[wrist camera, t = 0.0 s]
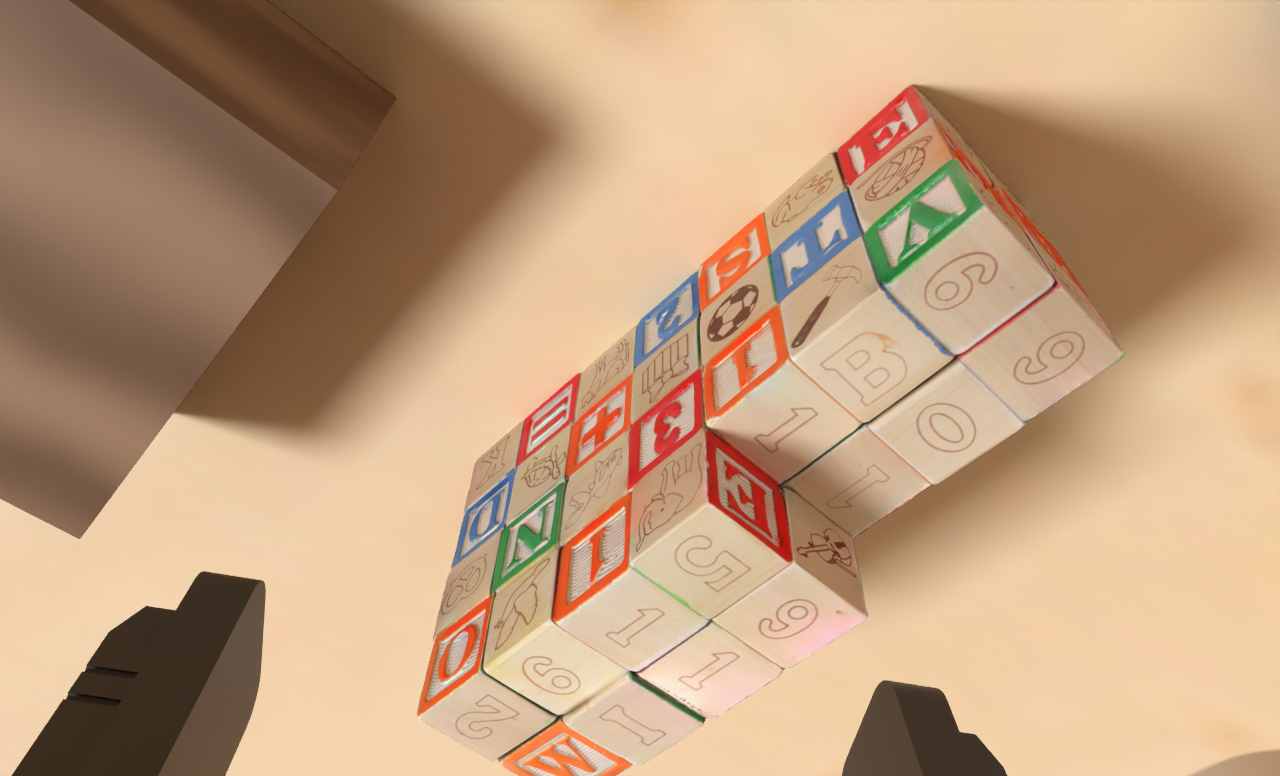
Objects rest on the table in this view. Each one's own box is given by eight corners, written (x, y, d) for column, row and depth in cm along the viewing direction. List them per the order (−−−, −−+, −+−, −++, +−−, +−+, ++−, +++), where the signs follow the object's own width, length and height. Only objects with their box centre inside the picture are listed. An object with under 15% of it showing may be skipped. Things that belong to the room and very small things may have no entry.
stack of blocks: (909, 73, 31) (1030, 261, 21) (1026, 205, 34) (1185, 431, 23) (472, 462, 40) (409, 725, 30) (589, 544, 43) (568, 813, 32)
